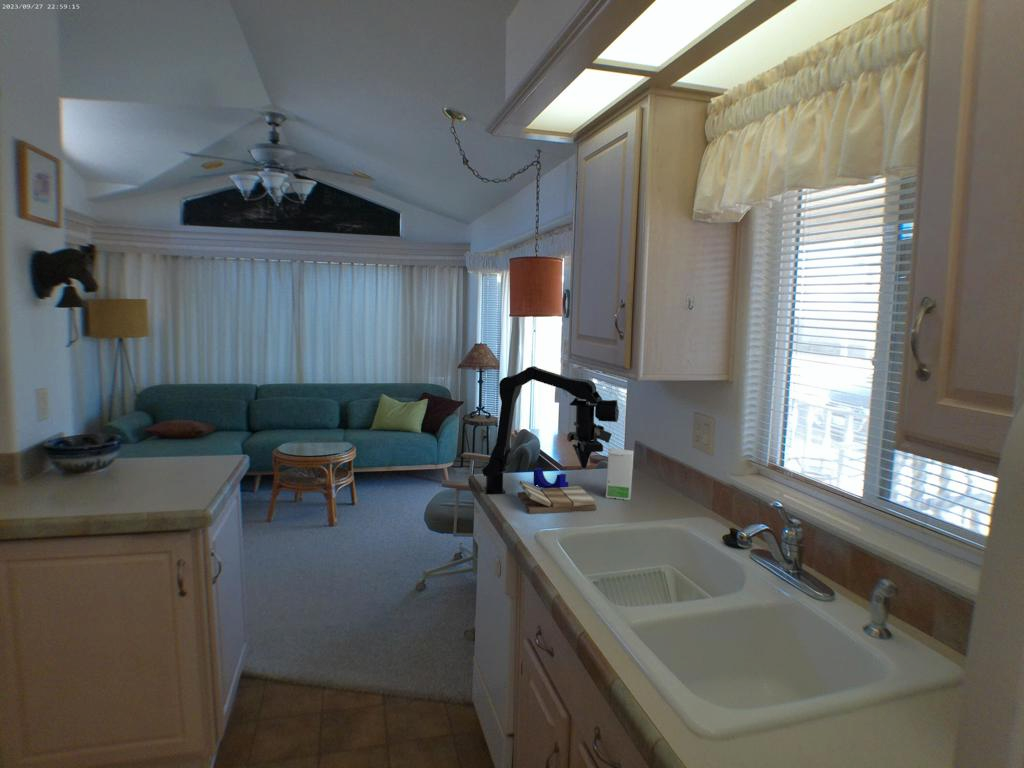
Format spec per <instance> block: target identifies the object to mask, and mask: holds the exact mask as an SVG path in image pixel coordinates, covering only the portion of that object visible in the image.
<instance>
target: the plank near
mask: <svg viewBox="0 0 1024 768" xmlns="http://www.w3.org/2000/svg"><path fill="white" fill-rule="evenodd" d="M518 485H519V486H520V487H521V489H522V490H523V492H525V493H526V494H527V495H528V497H529V498H530V499H533V500H535V501H537V502H540V503H542V504H544V505H547V506H549V507H550V505H551V502H550V501H549V500H548V499H547V497H546V496H545V495H544V494H543V493H542V491H541V490H540V487H537V486H533V485H532V484H530V483H528V482H525V481H522V480H519V482H518Z"/></svg>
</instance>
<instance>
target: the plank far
mask: <svg viewBox="0 0 1024 768" xmlns="http://www.w3.org/2000/svg"><path fill="white" fill-rule="evenodd" d="M559 489H560V490H561V492H562V493H563V494H564V495H565V496H566V497H567V498H568V499H569V500H570V501H571V502H572V505H573V506H580V505H594V504H595V505H596V500H595V499H594V498H593V497H592V496H591V495H590V494H589V493H588V492H586V491H585V490H584V489H583V488H582V487H581V486H580V485H579V486H578V485H577V486H576V485H575V486H568V487H560V488H559Z"/></svg>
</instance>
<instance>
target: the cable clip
mask: <svg viewBox="0 0 1024 768" xmlns="http://www.w3.org/2000/svg"><path fill="white" fill-rule="evenodd" d="M566 479H567V475H566V473H559V474H557V475H556V479H555V481H554V482H552V483H551V482H550V481H548V480H547V479H546V477H545V474H544V470H543V468H542V467H538V468H534V469H533V485H535V486H534V487H537V486H536V485H538V486H539V487H538V488H541V487H542V488H560V487H569V482H568V481H567V480H566ZM533 485H532V486H533Z"/></svg>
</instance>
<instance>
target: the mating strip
mask: <svg viewBox="0 0 1024 768" xmlns="http://www.w3.org/2000/svg"><path fill="white" fill-rule="evenodd" d="M539 489H540V490H541V491H542V493H543V494H544V495H545V496H546V497H547V499H548V500H549V501H550V502H551V505H552V507H566V506H572V502H571V501H570V500H569V499H568V498H567V497H566V496H565V495H564V494H563V493H562V492H561V490H560V489H559V488H541V487H539Z"/></svg>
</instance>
